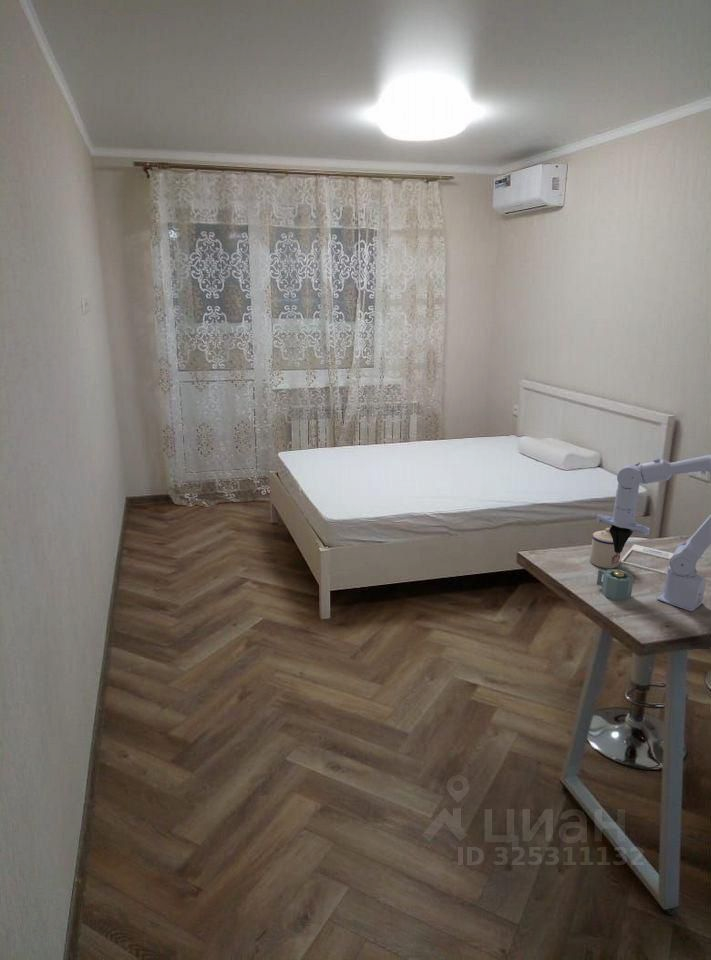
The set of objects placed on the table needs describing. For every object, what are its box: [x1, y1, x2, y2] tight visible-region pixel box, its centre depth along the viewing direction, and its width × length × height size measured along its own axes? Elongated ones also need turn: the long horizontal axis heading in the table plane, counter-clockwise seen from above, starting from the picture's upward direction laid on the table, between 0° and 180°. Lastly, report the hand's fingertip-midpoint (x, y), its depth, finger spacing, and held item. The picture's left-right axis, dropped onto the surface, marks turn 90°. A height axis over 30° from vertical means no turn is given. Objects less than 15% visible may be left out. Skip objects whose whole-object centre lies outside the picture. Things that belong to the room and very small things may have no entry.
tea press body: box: [596, 568, 635, 601], centre depth 181 cm, size 9×7×6 cm
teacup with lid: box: [589, 527, 622, 569], centre depth 201 cm, size 12×9×12 cm
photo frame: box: [619, 543, 674, 576], centre depth 205 cm, size 15×1×18 cm
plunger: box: [614, 571, 624, 579], centre depth 180 cm, size 4×4×5 cm
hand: (618, 551), depth 184 cm, fingers closed
